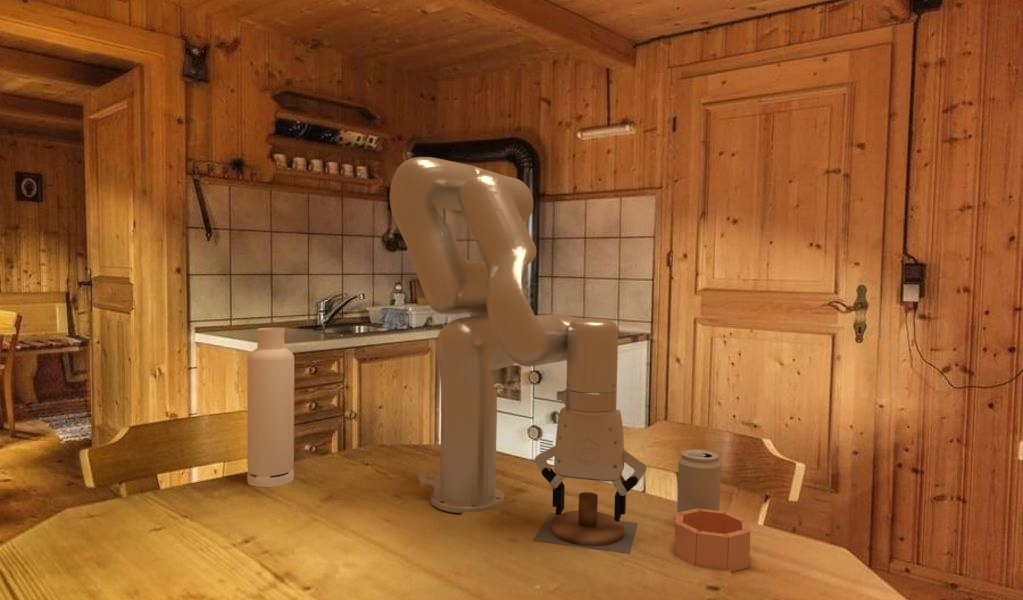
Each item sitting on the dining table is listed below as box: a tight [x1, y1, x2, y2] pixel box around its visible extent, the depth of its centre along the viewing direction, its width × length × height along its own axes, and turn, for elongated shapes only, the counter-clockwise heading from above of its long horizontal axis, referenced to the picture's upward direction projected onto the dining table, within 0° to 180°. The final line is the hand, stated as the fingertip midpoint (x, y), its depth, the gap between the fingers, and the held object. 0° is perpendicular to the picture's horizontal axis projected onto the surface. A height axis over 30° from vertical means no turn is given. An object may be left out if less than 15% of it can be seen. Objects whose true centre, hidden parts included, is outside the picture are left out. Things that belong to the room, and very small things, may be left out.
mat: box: [532, 512, 639, 555], centre depth 105 cm, size 14×12×1 cm
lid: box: [551, 491, 624, 546], centre depth 105 cm, size 11×11×6 cm
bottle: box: [246, 327, 295, 488], centre depth 127 cm, size 8×8×28 cm
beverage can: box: [676, 449, 722, 513], centre depth 108 cm, size 6×6×12 cm
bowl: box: [673, 508, 751, 573], centre depth 98 cm, size 10×10×5 cm
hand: (588, 514), depth 105 cm, fingers open, 8 cm apart
